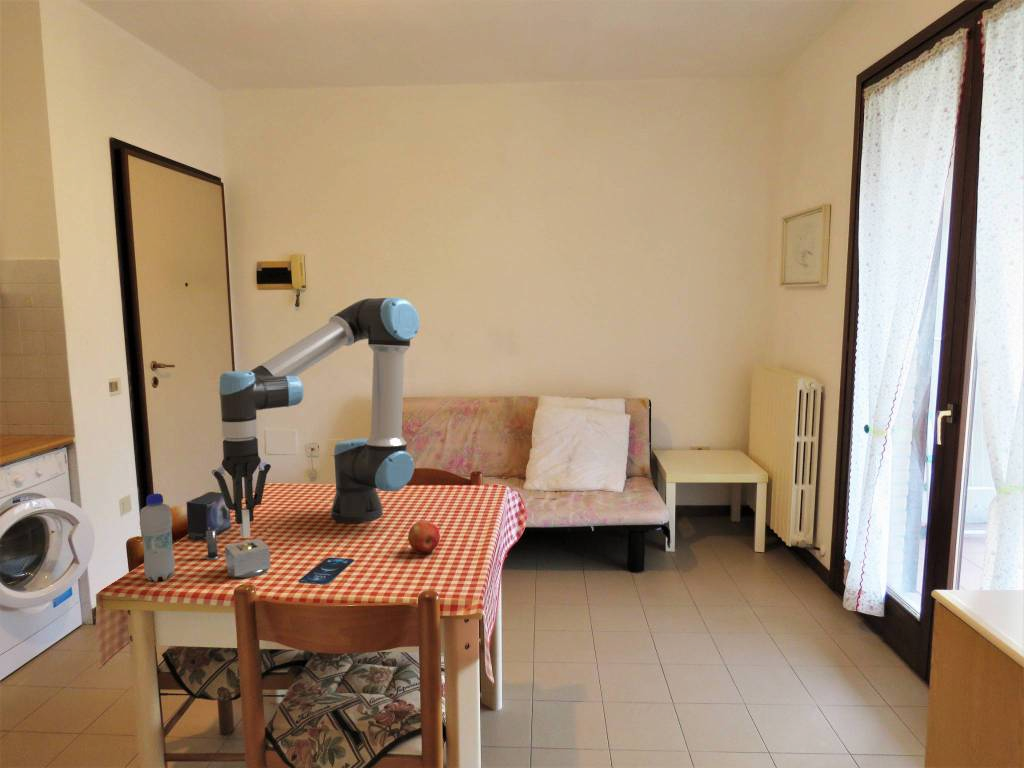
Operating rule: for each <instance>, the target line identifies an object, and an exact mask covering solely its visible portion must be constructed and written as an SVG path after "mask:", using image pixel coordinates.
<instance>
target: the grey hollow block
mask: <svg viewBox="0 0 1024 768" xmlns="http://www.w3.org/2000/svg"><path fill="white" fill-rule="evenodd" d="M244 545H252V548H251V549H247V550H242V546H244ZM270 553H271V552H270V547H269V546H268V544H266V543H265V542H264V541H263V540H262V539H261V538H254V539H249V540H244V541H240V542H235V543H231V544H225V545H224V555H225V567H226V568H227V570H228V569H229V570H230V571H231V572H232V573H233V575H234V576H239V575H243V574H247V573H251V572H255V571H259V570H263V569H268V570H269V569H271V555H270Z"/></svg>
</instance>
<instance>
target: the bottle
mask: <svg viewBox="0 0 1024 768" xmlns="http://www.w3.org/2000/svg"><path fill="white" fill-rule="evenodd" d="M145 500H146V505H145V506H144V507H142V508H141V509H140V513H139V515H140V517H139V526H140V531H141V532H142V546H143V560H144V561H143V565H144V566H143V570H144V574H145V577H146V579H147V580H148V581H149V582H150V581H154V582H159V578H160V577H161V578H162V580H163V581H165V580H166V579H168V578H172V577H173V575H174V574H175V569H176V562H175V555H174V550H173V548H174V547H173V534H172V527H173V519H174V518H173V516H172V515H173V514H172V511H171V507H170V505H169V504H166V503H164V497H163V494H161V493H151V494H148V495H147V496H146V499H145Z"/></svg>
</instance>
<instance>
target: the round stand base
mask: <svg viewBox="0 0 1024 768" xmlns="http://www.w3.org/2000/svg"><path fill="white" fill-rule="evenodd" d="M251 548H252V545H244V546H242V550H247V549H251ZM268 570H269V568H268V569H263V570H259V571H255V572H251V573H247V574H243V575H239V576H234V575H233V573H232V572H231V571H230V570H229V569H228V568H227V576H228V577H230V578H232V579H233V578H234V579H237V580H238V579H243V580H244V579H248V578H254V577H258V576H260V575H263V574H265V573H266V572H267V571H268Z"/></svg>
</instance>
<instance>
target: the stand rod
mask: <svg viewBox="0 0 1024 768" xmlns="http://www.w3.org/2000/svg"><path fill="white" fill-rule="evenodd" d="M206 536H207V540H206V549H207V551H206V552H207V555H206V556H205V560H206V561H214V560H215V561H216V560H218V559H220V558H221V554H219V553H218V545H217V536H216V530H215V529H210V530H207V531H206Z"/></svg>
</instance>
